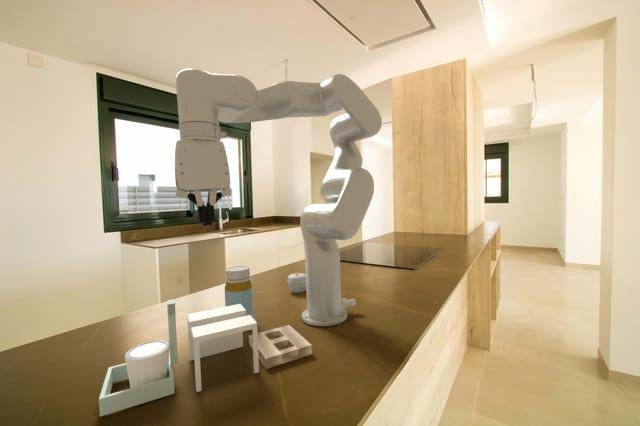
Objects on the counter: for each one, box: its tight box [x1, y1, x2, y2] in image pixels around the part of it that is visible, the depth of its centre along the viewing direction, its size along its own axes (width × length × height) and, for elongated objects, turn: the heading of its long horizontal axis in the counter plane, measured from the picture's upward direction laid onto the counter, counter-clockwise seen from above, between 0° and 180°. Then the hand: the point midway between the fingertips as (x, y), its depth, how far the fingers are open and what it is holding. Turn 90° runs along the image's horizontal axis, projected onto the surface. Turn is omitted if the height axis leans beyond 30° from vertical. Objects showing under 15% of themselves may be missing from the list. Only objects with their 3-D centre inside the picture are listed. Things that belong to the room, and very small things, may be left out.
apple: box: [286, 272, 306, 294], centre depth 105 cm, size 8×8×7 cm
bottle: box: [224, 265, 254, 319], centre depth 78 cm, size 7×7×15 cm
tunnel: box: [186, 304, 260, 393], centre depth 58 cm, size 11×13×10 cm
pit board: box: [248, 324, 313, 370], centre depth 64 cm, size 10×12×2 cm
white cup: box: [124, 339, 170, 389], centre depth 52 cm, size 7×7×7 cm
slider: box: [98, 298, 179, 417], centre depth 51 cm, size 11×10×14 cm
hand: (206, 225), depth 60 cm, fingers closed
